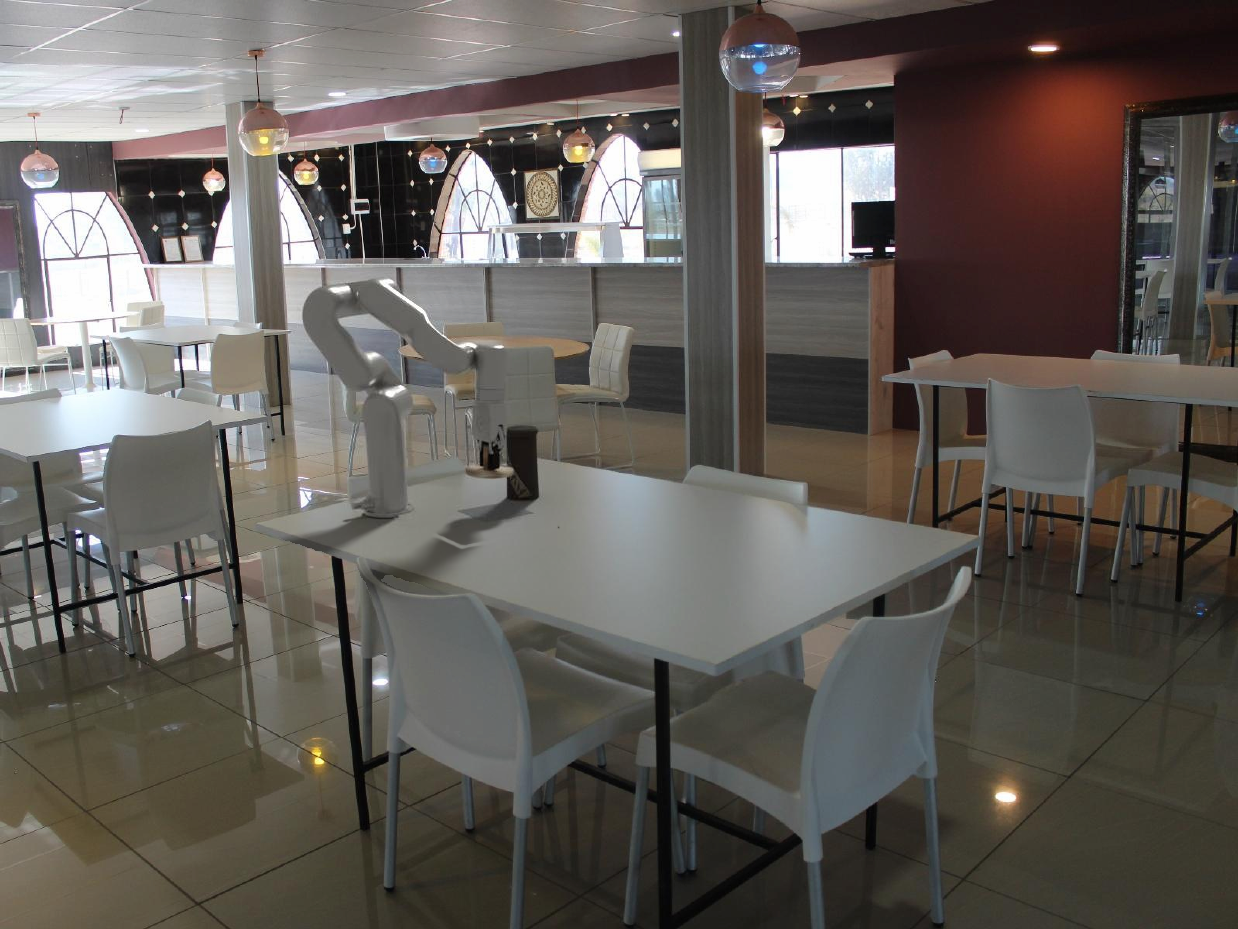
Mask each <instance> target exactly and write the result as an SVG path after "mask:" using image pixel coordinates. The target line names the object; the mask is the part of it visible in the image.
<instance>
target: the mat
mask: <svg viewBox="0 0 1238 929" xmlns="http://www.w3.org/2000/svg"><path fill="white" fill-rule="evenodd" d="M457 512H459V513H461V514H464V515H466V516H469V517H472V518H474V519H475V520H479V521H481V522H484V523H488V522H493V521H499V520H504V519H509V518H515V517H520V516H524V515H525V516H526V515H530V514H534V512H533V511H530V510H526V509H525V508H521V507H518V506H516V505H512V504H510V503H507V502H505V501H504V502H500V503H493V504H492V503H491V504H487V505H481V506H476V507H470V508H465V509H464V508H463V509H459V510H457Z"/></svg>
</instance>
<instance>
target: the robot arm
mask: <svg viewBox="0 0 1238 929" xmlns="http://www.w3.org/2000/svg"><path fill="white" fill-rule="evenodd" d="M363 315H370V316H371V317H373V318H374V319H376V320H377V321H379V322H380V323H382V325H385V327H386V328H388V329H390V330H391V331H393V332H394V333H396V334H397V335H398V336H400V337H401V338H403V339H404V340H405V341H406V343H407V344H408V345H409V346H410V347H411V348H412V349H413V350H414V351H415V352H416V353H417V354H418V355H419V356H420V357H421V358H422V359H424V360H425V361H426V362H428V363H429V364H431V365H432V366H433V367H435V368H437V369H438V370H439V371H441V372H442V373H444V374H446V375H449V376H451V377H452V376H453V377H458V376H460V375H464V374H466V373H469V372H472V371H475V396H474V397H475V398H474V402H473V407H472V408H473V409H472V415H471V416H472V418H471V435H472V437H473V438H474V439H476V441H477V444H478V450H479V462H478V464H479V465H480V466H481V467H483V447H484V445H489V453H490V454H488V469H489V470H492V469H499V468H500V465H501V462H500V461H501V454H502V449H503V448H504V447H506V446H507V444H506V436H507V428H508V425H507V424H508V423H507V422H508V421H507V418H508V416H507V406H506V401H507V362H508V361H507V359H508V358H507V357H508V356H507V349H506V347H505V346H504V345H501V344H495V343H494V344H491V343H487V344H481V343H475V342H470V341H465V340H464V341H463V340H462V341H458V342H453V341H452V340H450V339H449V338H447V337H446V336H445V335H443V334H442V333H441V332H439V331H438V330H437V329H436V328H435V327H434V326H433V325H432V324H431V321H430V320H429V318H428V315H427V313H426V311H425V310H424V309H423V308H422V307H420V306H418V305H417V304H416V303H415V302H413V301H411V300H410V299H409V298H407V297H406V296H404V295H403V294H402V292H401V289H400V287H399V285H398V284H397V282H395V281H394V280H392V279H391V278H388V277H376V278H375V277H374V278H371V279H367V280H360V281H353V282H344V283H337V284H329V285H328V284H327V285H322V286H320V287H317V288H314V290H312V291H311V293H309V294H308V296H307V297H306V299H305V301H304V303H303V307H302V314H301V316H302V318H301V319H302V323H303V326H304V330H305V331H306V334H307V336H308V337H309V338H310V340H311V341H312V343H313V344H314V345H315V346H316V348H317V349H318V351H320V353H321V354H322V356H323V357H324V359H325V360H326V362H327V363H328V364H329V366H330V367H331V369H332V370H333V371H334V372H335V374H336V375H337V377H338V378H339V380H341V383H342V384H343V385H344V386H345V387H346V388H347V389H349V390H350V391H353V392H354V393H355V392H356V393H359V392H360V393H361V392H364V391H365V393H366V394H367V395H368V396H367V397H366V398H365V400H364V402H363V404H362V408H361V418H362V423H363V428H364V432H365V433H364V434H365V435H364V436H365V443H366V457H367V459H366V460H367V461H366V462H367V477H368V494H367V495H365V498H363V499H362V500H361V501H360V500H359V501H358V500H357V501H352V502H351V503H350V507H351V509H352V510H353V511H354V510H359V509H360V510H361V511H363V514H364V515H365V516H367V517H370V518H378V519H379V518H380V519H389V518H392V519H393V518H398V517H400V515H404V514H409V513H411V512H413V511H414V510H415V506H414V504H412V503H409V501H408V500H409V499H408V496H409V494H408V480H407V479H408V474H407V458H406V457H407V456H406V453H407V452H406V443H405V442H406V441H405V435H404V434H405V433H404V430H403V425H402V421H404V420H405V419H407V418H408V417H409V416H410V414H411V413H412V411H413V407H414V400H413V396H412V394H411V392H410V389H409V388H408V387H407V386H406V385H405V383H404V382H403V381H402V379H401V377H400V376H399V374H397V372H396V371H395V370H394V368H393V367H392V365H391V364H390V363H389V362H388V360H386V358H385V357H384V356H383V355H382V354H380V353H378V352H377V351H373V350H363V349H362V348H361V347H360V346H359V345H358V343H357V342H356V340H355V339H354V337H353V336H352V335H351V333H350V332H349V331H348V330H347V329H346V328H345V327H343V326H342V325H341V323H340V321H339V320H340V319H343V318H349V317H356V316H363ZM493 445H494V447H493Z"/></svg>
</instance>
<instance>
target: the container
mask: <svg viewBox="0 0 1238 929" xmlns="http://www.w3.org/2000/svg"><path fill="white" fill-rule="evenodd" d="M538 433H539V429H538V428H537V427H536V426H533V425H527V424H525V425H522V424H521V425H519V424H518V425H512V426H507V436H506V440H505V443H506V446H505V447H506V466H509V467H512V468H513V469H514V474H513V475H512V476H510V477H506V499H507V500H509V501H519V502H521V501H523V502H524V501H534V500H537V499H539V498H540V490H539V489H540V488H539V487H540V485H539V470H538V469H539V467H538V448H537V447H538V445H537V443H538V442H537V440H538V438H537V437H538V436H537V435H538Z"/></svg>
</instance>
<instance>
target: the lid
mask: <svg viewBox="0 0 1238 929" xmlns="http://www.w3.org/2000/svg"><path fill="white" fill-rule="evenodd" d="M494 445H495V444H493V447H494ZM488 454H490V453H489V445H484V447H483V467H481V466H480V465H479V463H478V464H472V465H469V466H466V467H465V471H464V472H465V473H464V474H466V475H467V476H469V477H473V478H477V479H493V480H494V479H505V478H507V477H510V476H512V475H513V474H514V469H513V468H512V467H509V466H507V465H503V464H500V468H499V469H492V470H489V469H488Z"/></svg>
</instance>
